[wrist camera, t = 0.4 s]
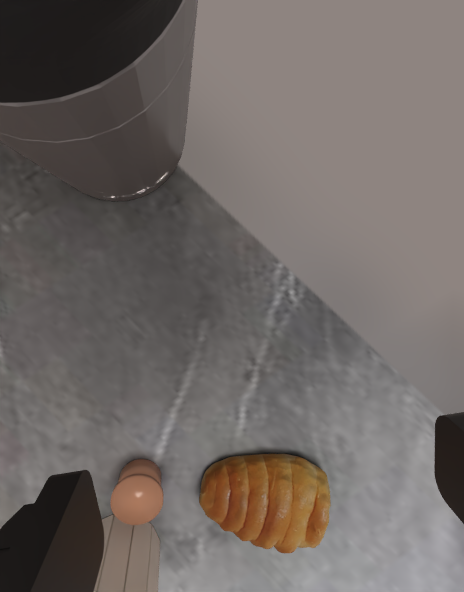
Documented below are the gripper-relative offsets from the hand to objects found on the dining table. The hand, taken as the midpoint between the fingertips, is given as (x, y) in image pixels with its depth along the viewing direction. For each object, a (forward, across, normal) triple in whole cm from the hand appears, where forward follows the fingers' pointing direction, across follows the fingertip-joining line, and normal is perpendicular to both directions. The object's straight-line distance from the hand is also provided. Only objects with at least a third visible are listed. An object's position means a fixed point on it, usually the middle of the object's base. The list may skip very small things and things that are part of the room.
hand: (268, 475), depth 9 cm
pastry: (+18, -2, +16) cm, 24 cm away
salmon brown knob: (+17, +8, +13) cm, 23 cm away
